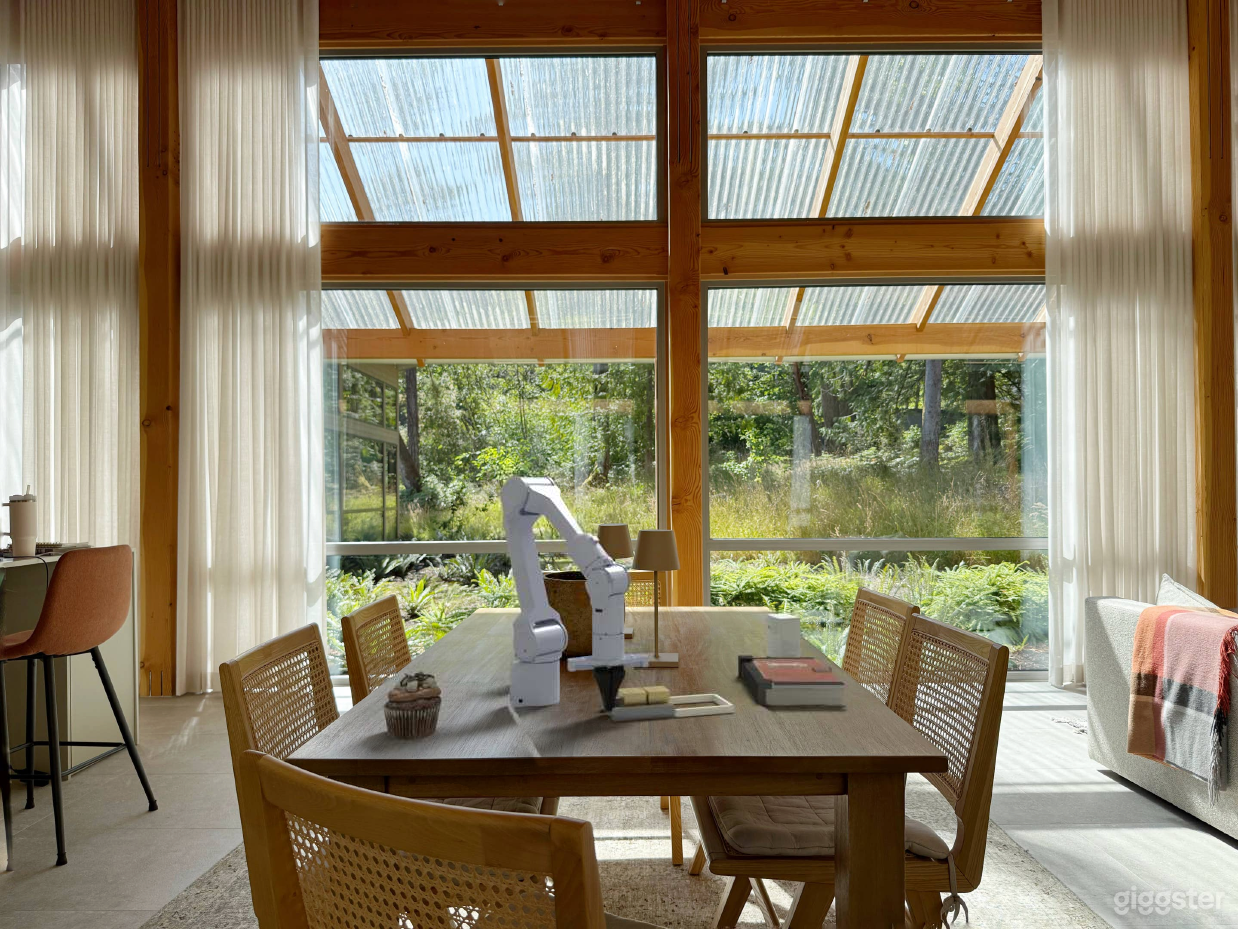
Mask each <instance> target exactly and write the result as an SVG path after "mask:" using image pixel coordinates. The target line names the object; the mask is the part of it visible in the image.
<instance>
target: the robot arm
mask: <svg viewBox="0 0 1238 929" xmlns="http://www.w3.org/2000/svg"><path fill="white" fill-rule="evenodd" d="M499 498H500V502H501V508H502V512H503V513H502V514H503V515H502V525H503V526H502V527H503V532H504V536H505V540H506V546H507V551H508V556H509V560H510V564H511V565H510V566H511V570H512V575H513V579H514V584H515V589H516V593H517V594H516V595H517V597H518V603H519V608H520V613H519V616H518V617H517V618H516V617H515V619H514V621H513V622H512V627H513V639H512V646H513V651H514V653H515V652H516V654H517V656H518V657H519V660H518V661H515V660H513V661H511V662H510V666H509V700H508V702H509V704H510V706H511V708H512V709H513V711H514V713H518V711H517V710H516V708H522V707H545V706H552V705H556V704H558V703H559V702H560V696H561V695H560V694H561V693H560V691H561V689H560V688H561V687H560V680H561V679H560V672H561V671H560V665H561V664H560V663H561V662H560V659H561V658H562V655H563V653H562V652H564V651H565V650H566V648H567V646H568V641H569V635H568V631H567V629H566V627H565V625H563V623H562V619H561V616H560V613H559V612H558V611H556V610H555V609H554V608H553V607H551V605H550V604H549V599H548V595H547V591H546V585H545V582H544V577H543V576H544V575H543V573H542V572H543V571H542V566H541V562H540V558H539V553H538V549H537V544H536V539H535V535H534V529H533V527H534V525H535V523H536V522H537V521H538V520H539V519H540V518H541V517H542V516H544V517H545V518H546V519H547V520H548V521H549V523H550V524H551V525H552V526H553V527H554V529H555V530H556V531H557V532H558V533H559V535H560V536H561V537H562V538H563V540H564V541H565V542H566V543H567V548H566V549H567V550H566V553H567V555H568V556H569V557H570V559H571V560H572V561H573V563H574V564H575V565H576V567H577V569H579V572H581V574H582V575H583V576H584V578H585V579H586V581H585V582H584V585H585V589H586V592H587V594H588V596H589V598H590V605H591V608H592V610H591V611H592V613H591V614H592V616H591V617H592V618H591V620H592V622H591V623H592V624H591V625H592V628H591V629H592V630H591V632H592V636H591V637H592V638H591V640H592V641H591V642H592V643H591V646H592V655H588V656H580V657H571V658H567V670H568V672H576V671H587V670H591V672H592V674H593V677H594V679H595V681H596V684H597V686H598V689H599V692H600V696H601V700H602V701H603V704H602V709H603V708H604V709H605V710H606V711H608V710H612V708H614V703H615V699H616V697H617V696H618V693H619V689H620V686H621V684H622V682H623V680H624V678H625V677H626V670H625V668H633V667H635V668H637V667H642V668H648V667H649V656H648V655H647V654H644V653H640V654H639V653H638V654H626V653H625V594H626V593H627V592H628V591H629V589H630V586H631V576H630V573H629V571H628V570H627V566H625V565H623V564H620V563H617V562H615V561H614V559H613V558H612V557H611V556H609V554H608V553H607V552H606V551H605V550H604V548H603V547H602V545H601V544H600V543H599V542H600V539H599V538H598V537H597V535H593V534H592V533H589V532H587V533H586V532H583V530H582V528H581V527H580V526H579V524H578V523H577V521H576V519H575V518H574V516H573V515H572V514H571V512H570V510H569V509H568V506H567V505H566V504H565V502H564V500H563V499H562V497H561V489H560V488H559V487H558V486H557V485H556V483H555V481H553V479H552V478H551V477H548V476H540V477H538V476H536V477H535V476H518V475H512V476H510V477H508V478H507V479H506V481H505V482H504V484H503V485H502V488H501V490H500V492H499ZM534 623H535V625H534ZM533 625H534V626H533ZM519 700H520V701H521V702H520V701H519Z"/></svg>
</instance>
